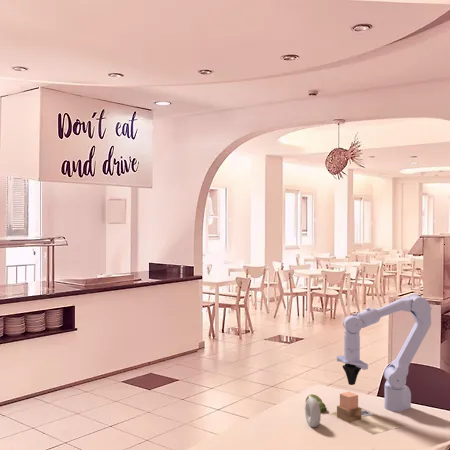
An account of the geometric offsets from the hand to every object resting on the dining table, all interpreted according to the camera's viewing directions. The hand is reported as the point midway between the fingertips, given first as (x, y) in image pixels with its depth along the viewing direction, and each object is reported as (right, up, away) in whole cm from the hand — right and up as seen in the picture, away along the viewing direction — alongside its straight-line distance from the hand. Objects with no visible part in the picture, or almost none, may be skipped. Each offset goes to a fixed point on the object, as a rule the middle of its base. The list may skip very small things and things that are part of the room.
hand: (351, 384), depth 209 cm
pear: (-13, -10, -1) cm, 17 cm away
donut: (-17, -10, -17) cm, 27 cm away
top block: (-4, -5, -11) cm, 13 cm away
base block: (-4, -9, -11) cm, 15 cm away
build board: (+2, -10, -13) cm, 16 cm away
